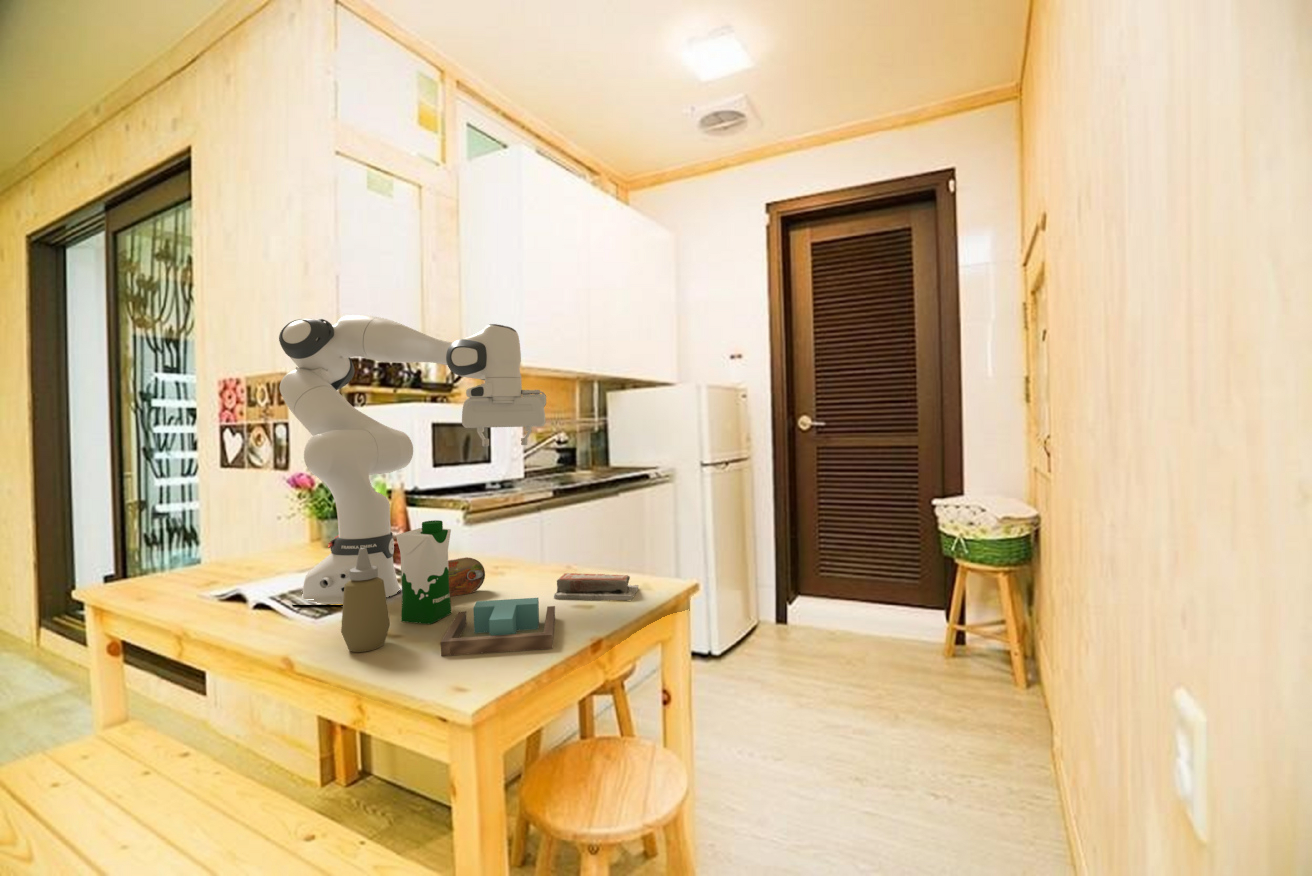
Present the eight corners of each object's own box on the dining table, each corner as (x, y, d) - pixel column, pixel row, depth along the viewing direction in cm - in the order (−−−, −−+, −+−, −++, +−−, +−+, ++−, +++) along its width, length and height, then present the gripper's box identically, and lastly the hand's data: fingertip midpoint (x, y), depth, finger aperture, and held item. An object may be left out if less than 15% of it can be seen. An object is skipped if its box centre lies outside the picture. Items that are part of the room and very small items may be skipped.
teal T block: (467, 649, 109) (466, 621, 109) (477, 626, 121) (476, 601, 121) (535, 644, 111) (534, 617, 111) (539, 622, 123) (538, 597, 123)
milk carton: (431, 626, 122) (428, 526, 121) (393, 622, 124) (389, 524, 123) (458, 612, 130) (454, 518, 129) (421, 609, 133) (418, 517, 132)
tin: (418, 602, 138) (417, 565, 138) (416, 598, 141) (415, 562, 141) (486, 591, 146) (484, 556, 145) (482, 588, 148) (481, 553, 148)
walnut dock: (441, 656, 106) (440, 642, 106) (458, 624, 123) (458, 611, 123) (552, 648, 109) (551, 634, 109) (555, 618, 125) (554, 606, 125)
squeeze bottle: (372, 656, 107) (368, 554, 106) (331, 654, 108) (327, 553, 107) (399, 639, 115) (396, 544, 114) (361, 637, 116) (357, 543, 115)
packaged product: (552, 580, 138) (565, 569, 148) (552, 601, 138) (565, 589, 148) (631, 581, 135) (638, 570, 145) (631, 603, 136) (639, 590, 145)
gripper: (546, 390, 157) (547, 444, 158) (464, 391, 155) (465, 446, 155) (545, 389, 151) (546, 445, 151) (459, 390, 148) (461, 447, 149)
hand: (505, 445), depth 153 cm, fingers open, 8 cm apart
